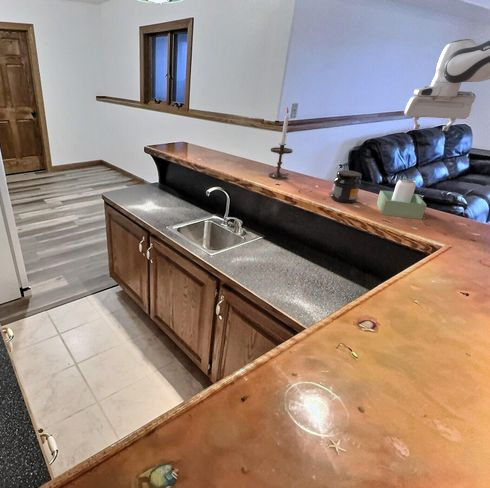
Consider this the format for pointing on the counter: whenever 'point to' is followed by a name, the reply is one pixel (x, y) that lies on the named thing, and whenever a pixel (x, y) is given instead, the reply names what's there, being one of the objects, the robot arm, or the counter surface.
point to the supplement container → (346, 186)
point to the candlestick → (281, 150)
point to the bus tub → (400, 206)
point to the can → (404, 190)
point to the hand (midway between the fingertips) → (430, 130)
